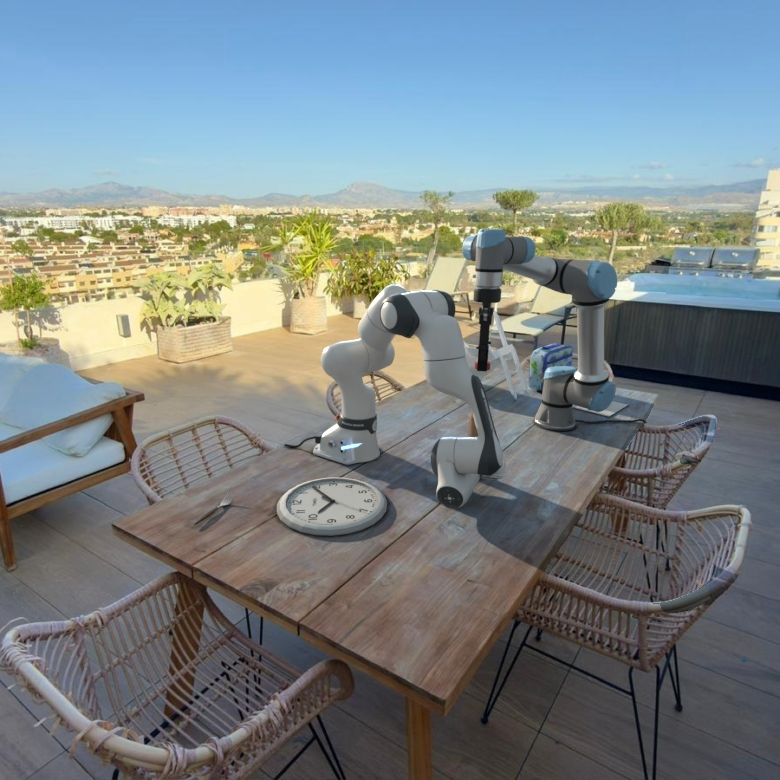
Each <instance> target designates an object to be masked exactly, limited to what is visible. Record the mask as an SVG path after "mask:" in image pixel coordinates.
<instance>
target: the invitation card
mask: <svg viewBox="0 0 780 780" xmlns="http://www.w3.org/2000/svg"><path fill="white" fill-rule="evenodd" d="M628 406H629V404H627V403H623V402H618V401H614V400H612V402H611V404H610V405H609V406H608V407H607V408H606V409H605V410H604V411H601V412H596V411H593V410H588V409H586V408H583V407H580V406H576V405H575V406H574V407H573V409H575V410H581V411H584V412H587V413H593V414H596V415H600V416H604V417H608V418H609V417H611V416H613V415H614V414H616V413H617V412H619V411H621V410H623V409H624V408H626V407H628Z"/></svg>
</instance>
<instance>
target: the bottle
mask: <svg viewBox="0 0 780 780" xmlns="http://www.w3.org/2000/svg"><path fill="white" fill-rule="evenodd" d="M468 426H469V427H468V437H478V432H477V428H476V425H475V421H474V417H473V414H472V410H471V411H470V415H469V425H468Z"/></svg>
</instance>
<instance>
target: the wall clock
mask: <svg viewBox="0 0 780 780" xmlns="http://www.w3.org/2000/svg"><path fill="white" fill-rule="evenodd" d="M387 509H388V500H387V498H386V496H385V494H384V493H383V492H382V491H381V490H380V489H379V488H377V487H376V486H374V485H372V484H371V483H369V482H365V481H362V480H359V479H355V478H349V477H338V476H337V477H335V476H333V477H332V476H331V477H322V478H317V479H312V480H307V481H305V482H302V483H299V484H297V485H295V486H293V487H292V488H290V489H288V490H287V491H286V492H285V493H284V494H283V495H281V496H280V498H279V499H278V502H277V503H276V515H277V517H278V518H279V520H280V521H281V522H282V523H283V524H285V525H286V526H287V527H288V528H290V529H293V530H295V531H297V532H299V533H303V534H308V535H312V536H327V537H328V536H329V537H331V536H332V537H333V536H342V535H350V534H352V533H356V532H361V531H363V530H366V529H368V528H369V527H372V526H373V525H375V524H376V523H378V522H379V521H380V520H381V519H382V518H383V517H384V516H385V514H386V512H387Z"/></svg>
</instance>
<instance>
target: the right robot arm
mask: <svg viewBox="0 0 780 780" xmlns="http://www.w3.org/2000/svg"><path fill="white" fill-rule="evenodd" d="M506 233H507V232H506V230H505V229H501V228H499V229H498V228H481V229H479V230H478V232H477V234H475V235H474V234H473V235H468V236H467V237H466V238H465V239H464V240H463V242H462V247H461V251H462V256H463V258H464V259H466V260H468V261H472V262H475V267H474V268H475V269H474V274H472V278H473V279H474V282H473V283H474V284H473V285H474V286H475V287H474V288H473V298H472V299H473V302H476V303H482V304H481V306H479V308H478V315H479V317H478V324H479V339H478V345H479V346H478V345H477V346H478V347H476V349H478V365H477V371H485V372H487V361H488V350H489V345H492V341H490V330H491V329H490V327H491V325H492V323H493V322H492V321H493V316H494V315H493V312H494V307H492V304H497V303H500V302H501V300H502V289H501V287H502V286H503V278H504V276H503V275H504V271H506V272H510V273H513V274H516V275H519V276H522V277H525V278H527V279H531V280H532V281H533V283H535V284H536V285H538V286H540V287H544V288H546V289H549V290H551V291H554V292H556V293H560V294H564V295H571V303H572V305H573V306H574V307H576V318H577V319H576V327H577V330H576V331H577V367H576V366H572V365H571V366H555V367H549V368H547V369H546V371H545V375H544V378H543V379H544V381H543V391H541V392H542V394H541V402H540V405H539V407H538V410H537V411H536V413H535V416H534V424H535V425H536V426H537V427H539V428H542V429H544V430H549V431H556V432H567V431H572V430H574V429H575V428H576V423H582V424H601V423H636V422H643V423H644V424H647V423H648V422H647V421H646V420H645V419H643V418H637V419H632V420H631V419H629V420H626V419H622V420H621V419H604V420H593V421H591V420H590V421H588V420H582V419H576V418H575V417H576V416H575V413H574V407H573V406H575V407H576V406H580V407H583V408H586V409H588V410H593V411H596V412H601V411H604V410H605V409H606V408H607V407H608V406H609V405H610V404H611V402H612V401H614V398H615V395H616V392H617V391H616V390H617V386H616V384H615V383H614V382H613V381H611V380H609V378H610V377H609V371H607V370H606V369H605V306H606V305H607V304H608V303H609V302H610V298H612V297H613V296H614V294H615V292H616V288H617V287H618V273H617V271H616V269H615V267H614V265H612V264H611V263H610V262H607V261H601V260H593V259H591V260H589V259H572V258H553V257H551V256H547V255H546V256H539V255H536V244H535V242H534V240H533V239H532V238H531V237H529V236H523V235H519V236H513V235H512V236H509V235H506ZM488 344H489V345H488Z"/></svg>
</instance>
